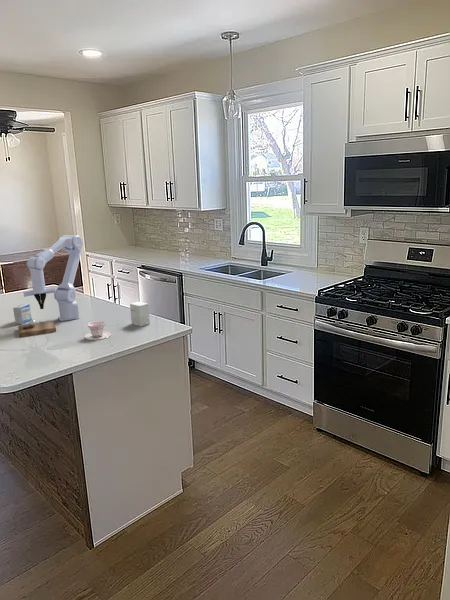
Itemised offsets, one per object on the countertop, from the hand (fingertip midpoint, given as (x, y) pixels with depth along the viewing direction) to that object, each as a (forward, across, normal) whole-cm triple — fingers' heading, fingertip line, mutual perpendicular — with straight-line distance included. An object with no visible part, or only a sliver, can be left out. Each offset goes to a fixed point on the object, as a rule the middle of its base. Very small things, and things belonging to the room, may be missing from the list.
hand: (41, 308), depth 228 cm
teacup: (+10, +20, -30) cm, 37 cm away
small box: (+10, +43, -22) cm, 49 cm away
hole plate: (+9, -4, -5) cm, 11 cm away
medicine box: (+10, -8, +15) cm, 20 cm away
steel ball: (+6, -6, -4) cm, 9 cm away
